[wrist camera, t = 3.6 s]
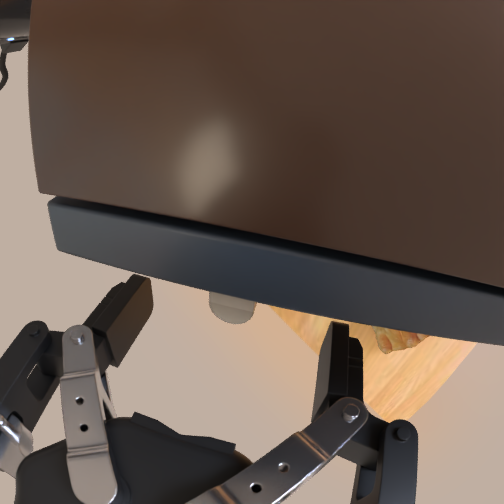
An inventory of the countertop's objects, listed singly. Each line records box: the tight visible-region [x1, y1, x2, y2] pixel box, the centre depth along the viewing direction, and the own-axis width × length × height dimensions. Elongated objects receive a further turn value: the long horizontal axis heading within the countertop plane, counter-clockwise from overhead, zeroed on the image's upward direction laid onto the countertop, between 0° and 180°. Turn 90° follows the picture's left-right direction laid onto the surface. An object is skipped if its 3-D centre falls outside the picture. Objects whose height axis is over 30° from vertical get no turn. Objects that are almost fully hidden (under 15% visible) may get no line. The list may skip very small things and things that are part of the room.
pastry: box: [372, 326, 430, 354], centre depth 33 cm, size 9×7×4 cm
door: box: [47, 196, 504, 346], centre depth 16 cm, size 7×26×24 cm, turn 84°
